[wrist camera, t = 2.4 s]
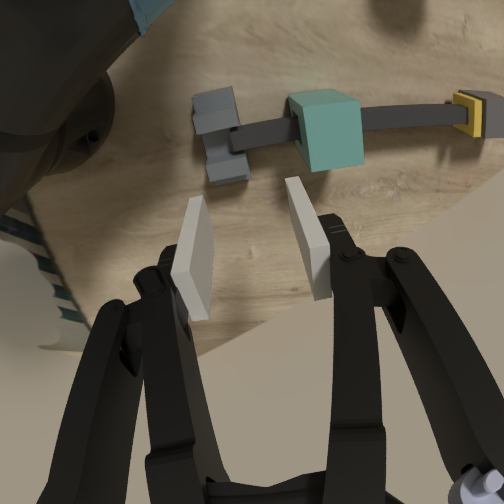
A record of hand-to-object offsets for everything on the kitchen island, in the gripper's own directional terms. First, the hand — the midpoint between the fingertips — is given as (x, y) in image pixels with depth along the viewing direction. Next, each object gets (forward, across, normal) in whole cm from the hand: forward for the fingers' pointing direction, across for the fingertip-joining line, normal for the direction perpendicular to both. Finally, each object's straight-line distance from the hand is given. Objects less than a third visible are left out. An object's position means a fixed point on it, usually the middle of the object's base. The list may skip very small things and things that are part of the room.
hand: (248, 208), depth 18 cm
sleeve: (+19, +8, 0) cm, 20 cm away
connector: (+19, +31, 0) cm, 36 cm away
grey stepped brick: (+19, -2, 0) cm, 19 cm away
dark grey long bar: (+17, +16, 0) cm, 24 cm away
